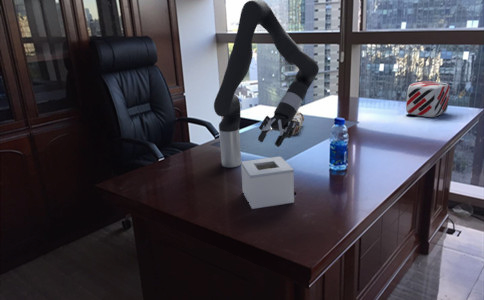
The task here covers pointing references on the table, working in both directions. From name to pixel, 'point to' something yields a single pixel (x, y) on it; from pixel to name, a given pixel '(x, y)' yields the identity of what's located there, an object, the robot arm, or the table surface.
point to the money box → (267, 182)
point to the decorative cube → (427, 98)
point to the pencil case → (297, 122)
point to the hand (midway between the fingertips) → (268, 143)
